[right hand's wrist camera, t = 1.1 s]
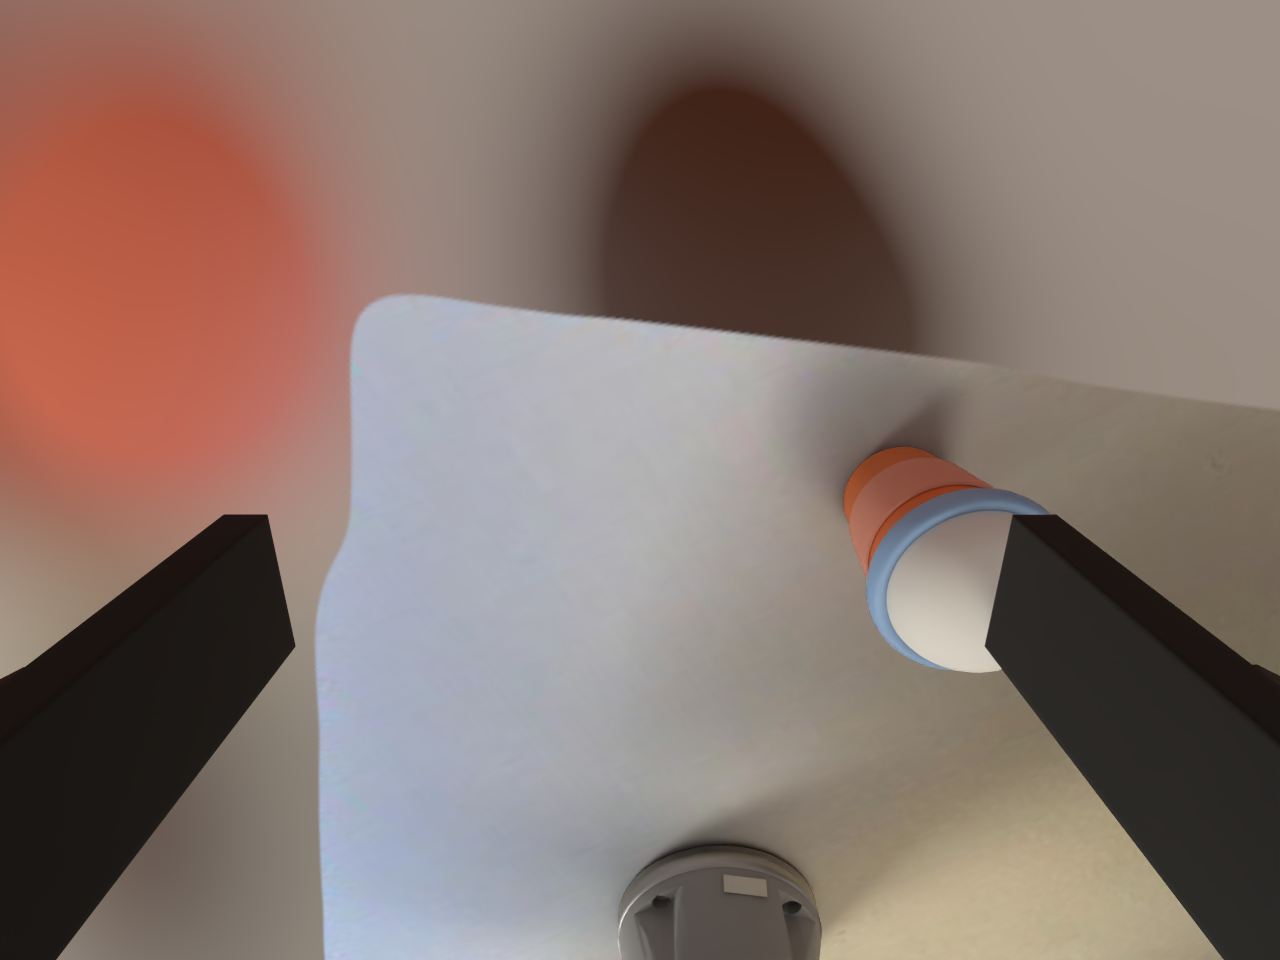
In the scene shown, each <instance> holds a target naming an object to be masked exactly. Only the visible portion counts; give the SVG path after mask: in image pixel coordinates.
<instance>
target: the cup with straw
mask: <svg viewBox="0 0 1280 960" xmlns="http://www.w3.org/2000/svg"><path fill="white" fill-rule="evenodd" d="M844 510H845V514H846V517H847V520H848V523H849V525H850V534H851V539H852V542H853V545H854V548H855V550H856V553H857V555H858V558H859V561H860V563H861V566H862V569H863V571H864V574H865V576H866V579H867V582H866V595H867V603H868V607H869V611H870V614H871V617H872V619H873V621H874V623H875V625H876V627H877V628H878V630H879V632H880V633H881V634H882V636H883V637H884V638H885V639H886V641H887V642H888V643H889V644H890V645H891V646H892V647H894V648H895V649H896V650H897V651H898V652H900V653H901V654H903V655H904V656H906V657H908V658H909V659H911V660H913V661H915V662H918V663H920V664H923V665H926V666H929V667H933V668H938V669H943V670H957V671H963V672H972V673H982V672H992V671H998V670H1002V669H1001V667H1000V666H999V665H998V663H997V662H996V661H995V659H994V658H993V657H992V656H991V654H990V653H989V652H988V650H987V649H986V648H985V642H986V637H987V632H988V628H989V623H990V618H991V613H992V609H993V604H994V599H995V595H996V590H997V585H998V581H999V576H1000V571H1001V567H1002V562H1003V557H1004V553H1005V548H1006V543H1007V539H1008V534H1009V529H1010V524H1011V520H1012V515H1051V514H1050V513H1049V512H1048V511H1047V510H1046V509H1044V508H1043V507H1042V506H1040V505H1039V504H1037V503H1036V502H1034V501H1032V500H1030V499H1028V498H1026V497H1024V496H1022V495H1019V494H1016V493H1013V492H1010V491H1005V490H1001V489H995V488H993V487H992V486H990V485H988V484H987V483H985V482H983V481H982V480H980V479H978V478H977V477H975V476H973V475H972V474H970V473H969V472H967V471H965V470H964V469H962V468H960V467H958V466H957V465H955V464H953V463H951V462H948V461H945V460H941V459H939V458H937V457H936V456H934V455H932V454H930V453H929V452H926V451H924V450H921V449H918V448H914V447H894V448H889V449H885V450H883V451H880V452H878V453H876V454H874V455H872V456H870V457H869V458H867V459H866V460H865V461H864V462H862V463H861V464H860V465H859V466H858V467H857V469H856V470H855V471H854V472H853V474H852V475H851V477H850V479H849V481H848V483H847V486H846V489H845V493H844Z"/></svg>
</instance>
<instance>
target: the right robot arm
mask: <svg viewBox="0 0 1280 960" xmlns="http://www.w3.org/2000/svg"><path fill="white" fill-rule="evenodd" d="M294 648H295V642H294V637H293V632H292V628H291V623H290V618H289V613H288V609H287V604H286V600H285V595H284V590H283V585H282V581H281V576H280V571H279V567H278V562H277V557H276V553H275V548H274V544H273V539H272V534H271V529H270V525H269V520H268V515H223V516H221V517H220V518H219V519H218V520H216V521H215V522H214V523H212V524H211V525H210V526H208V527H207V528H206V529H204V530H203V531H202V532H201V533H199V534H198V535H197V536H195V537H194V538H193V539H191V540H190V541H189V542H188V543H186V544H185V545H184V546H182V547H181V548H180V549H178V550H177V551H176V552H174V553H173V554H172V555H171V556H169V557H168V558H167V559H165V560H164V561H163V562H161V563H160V564H159V565H158V566H156V567H155V568H154V569H152V570H151V571H150V572H148V573H147V574H146V575H144V576H143V577H142V578H141V579H139V580H138V581H137V582H135V583H134V584H133V585H131V586H130V587H129V588H128V589H126V590H125V591H124V592H122V593H121V594H120V595H118V596H117V597H116V598H115V599H113V600H112V601H111V602H109V603H108V604H107V605H105V606H104V607H103V608H101V609H100V610H99V611H98V612H96V613H95V614H94V615H92V616H91V617H90V618H88V619H87V620H86V621H85V622H83V623H82V624H81V625H79V626H78V627H77V628H75V629H74V630H73V631H71V632H70V633H69V634H68V635H66V636H65V637H64V638H62V639H61V640H60V641H58V642H57V643H56V644H54V645H53V646H52V647H51V648H49V649H48V650H47V651H45V652H44V653H43V654H41V655H40V656H39V657H38V658H36V659H35V660H34V661H32V662H31V663H30V664H28V665H27V666H26V667H23V668H21V669H19V670H17V671H15V672H13V673H11V674H9V675H8V676H6V677H4V678H2V679H0V960H56V959H57V958H58V956H59V955H60V954H61V953H62V951H63V950H64V949H65V947H66V946H67V945H68V943H69V942H70V941H71V940H72V938H73V937H74V936H75V934H76V933H77V932H78V930H79V929H80V928H81V926H82V925H83V924H84V923H85V921H86V920H87V919H88V917H89V916H90V915H91V913H92V912H93V911H94V909H95V908H96V907H97V905H98V904H99V903H100V902H101V900H102V899H103V898H104V896H105V895H106V894H107V892H108V891H109V890H110V888H111V887H112V886H113V884H114V883H115V882H116V881H117V879H118V878H119V877H120V875H121V874H122V873H123V871H124V870H125V869H126V868H127V866H128V865H129V864H130V862H131V861H132V860H133V858H134V857H135V856H136V854H137V853H138V852H139V850H140V849H141V848H142V847H143V845H144V844H145V843H146V841H147V840H148V839H149V837H150V836H151V835H152V834H153V832H154V831H155V830H156V828H157V827H158V826H159V824H160V823H161V822H162V820H163V819H164V818H165V817H166V815H167V814H168V813H169V811H170V810H171V809H172V807H173V806H174V805H175V803H176V802H177V801H178V799H179V798H180V797H181V796H182V794H183V793H184V792H185V790H186V789H187V788H188V786H189V785H190V784H191V782H192V781H193V780H194V779H195V777H196V776H197V775H198V773H199V772H200V771H201V769H202V768H203V767H204V765H205V764H206V763H207V762H208V760H209V759H210V758H211V756H212V755H213V754H214V752H215V751H216V750H217V748H218V747H219V746H220V744H221V743H222V742H223V741H224V739H225V738H226V737H227V735H228V734H229V733H230V731H231V730H232V729H233V728H234V726H235V725H236V724H237V722H238V721H239V720H240V718H241V717H242V716H243V714H244V713H245V712H246V710H247V709H248V708H249V706H250V705H251V704H252V703H253V701H254V700H255V699H256V697H257V696H258V695H259V693H260V692H261V691H262V690H263V688H264V687H265V686H266V684H267V683H268V682H269V680H270V679H271V678H272V676H273V675H274V674H275V673H276V671H277V670H278V669H279V667H280V666H281V665H282V663H283V662H284V661H285V659H286V658H287V657H288V656H289V654H290V653H291V652H292V650H293V649H294ZM985 648H986V649H987V650H988V652H989V653H990V654H991V656H992V657H993V658H994V659H995V661H996V662H997V663H998V665H999V666H1000V667H1001V669H1002V670H1003V671H1004V673H1005V674H1006V675H1007V676H1008V678H1009V679H1010V680H1011V682H1012V683H1013V684H1014V686H1015V687H1016V688H1017V690H1018V691H1019V692H1020V693H1021V695H1022V696H1023V697H1024V699H1025V700H1026V701H1027V703H1028V704H1029V705H1030V707H1031V708H1032V709H1033V711H1034V712H1035V713H1036V714H1037V716H1038V717H1039V718H1040V720H1041V721H1042V722H1043V724H1044V725H1045V726H1046V728H1047V729H1048V730H1049V731H1050V733H1051V734H1052V735H1053V737H1054V738H1055V739H1056V741H1057V742H1058V743H1059V745H1060V746H1061V747H1062V748H1063V750H1064V751H1065V752H1066V754H1067V755H1068V756H1069V758H1070V759H1071V760H1072V762H1073V763H1074V764H1075V765H1076V767H1077V768H1078V769H1079V771H1080V772H1081V773H1082V775H1083V776H1084V777H1085V779H1086V780H1087V781H1088V782H1089V784H1090V785H1091V786H1092V788H1093V789H1094V790H1095V792H1096V793H1097V794H1098V796H1099V797H1100V798H1101V799H1102V801H1103V802H1104V803H1105V805H1106V806H1107V807H1108V809H1109V810H1110V811H1111V813H1112V814H1113V815H1114V817H1115V818H1116V819H1117V820H1118V822H1119V823H1120V824H1121V826H1122V827H1123V828H1124V830H1125V831H1126V832H1127V834H1128V835H1129V836H1130V837H1131V839H1132V840H1133V841H1134V843H1135V844H1136V845H1137V847H1138V848H1139V849H1140V851H1141V852H1142V853H1143V854H1144V856H1145V857H1146V858H1147V860H1148V861H1149V862H1150V864H1151V865H1152V866H1153V868H1154V869H1155V870H1156V871H1157V873H1158V874H1159V875H1160V877H1161V878H1162V879H1163V881H1164V882H1165V883H1166V885H1167V886H1168V887H1169V888H1170V890H1171V891H1172V892H1173V894H1174V895H1175V896H1176V898H1177V899H1178V900H1179V902H1180V903H1181V904H1182V906H1183V907H1184V908H1185V909H1186V911H1187V912H1188V913H1189V915H1190V916H1191V917H1192V919H1193V920H1194V921H1195V923H1196V924H1197V925H1198V926H1199V928H1200V929H1201V930H1202V932H1203V933H1204V934H1205V936H1206V937H1207V938H1208V940H1209V941H1210V942H1211V943H1212V945H1213V946H1214V947H1215V949H1216V950H1217V951H1218V953H1219V954H1220V955H1221V957H1222V958H1223V959H1224V960H1280V676H1279V675H1277V674H1275V673H1273V672H1271V671H1269V670H1267V669H1265V668H1263V667H1261V666H1259V665H1252V664H1250V663H1249V662H1248V661H1246V660H1245V659H1244V658H1242V657H1241V656H1240V655H1239V654H1237V653H1236V652H1235V651H1233V650H1232V649H1231V648H1229V647H1228V646H1227V645H1226V644H1224V643H1223V642H1222V641H1220V640H1219V639H1218V638H1216V637H1215V636H1214V635H1212V634H1211V633H1210V632H1209V631H1207V630H1206V629H1205V628H1203V627H1202V626H1201V625H1199V624H1198V623H1197V622H1196V621H1194V620H1193V619H1192V618H1190V617H1189V616H1188V615H1186V614H1185V613H1184V612H1182V611H1181V610H1180V609H1179V608H1177V607H1176V606H1175V605H1173V604H1172V603H1171V602H1169V601H1168V600H1167V599H1166V598H1164V597H1163V596H1162V595H1160V594H1159V593H1158V592H1156V591H1155V590H1154V589H1152V588H1151V587H1150V586H1149V585H1147V584H1146V583H1145V582H1143V581H1142V580H1141V579H1139V578H1138V577H1137V576H1136V575H1134V574H1133V573H1132V572H1130V571H1129V570H1128V569H1126V568H1125V567H1124V566H1123V565H1121V564H1120V563H1119V562H1117V561H1116V560H1115V559H1113V558H1112V557H1111V556H1109V555H1108V554H1107V553H1106V552H1104V551H1103V550H1102V549H1100V548H1099V547H1098V546H1096V545H1095V544H1094V543H1093V542H1091V541H1090V540H1089V539H1087V538H1086V537H1085V536H1083V535H1082V534H1081V533H1079V532H1078V531H1077V530H1076V529H1074V528H1073V527H1072V526H1070V525H1069V524H1068V523H1066V522H1065V521H1064V520H1063V519H1061V518H1060V517H1059V516H1057V515H1012V520H1011V524H1010V529H1009V534H1008V539H1007V543H1006V548H1005V553H1004V557H1003V562H1002V567H1001V571H1000V576H999V581H998V585H997V590H996V595H995V599H994V604H993V609H992V613H991V618H990V623H989V628H988V632H987V637H986V642H985ZM820 945H821V923H820V919H819V915H818V911H817V907H816V903H815V899H814V896H813V893H812V891H811V888H810V887H809V885H808V884H807V882H806V881H805V879H804V878H803V877H802V876H801V875H800V874H799V873H798V872H797V871H796V870H795V869H794V868H792V867H791V866H790V865H788V864H787V863H785V862H784V861H782V860H780V859H778V858H776V857H774V856H772V855H770V854H767V853H764V852H761V851H758V850H754V849H750V848H745V847H738V846H723V845H716V846H704V847H697V848H692V849H687V850H684V851H680V852H677V853H674V854H672V855H669V856H667V857H665V858H663V859H660V860H659V861H657V862H655V863H653V864H652V865H650V866H649V867H647V868H646V869H645V870H643V871H642V872H641V873H640V874H639V875H638V876H637V877H636V878H635V879H634V880H633V881H632V882H631V884H630V885H629V886H628V888H627V890H626V891H625V893H624V895H623V897H622V900H621V903H620V907H619V915H618V946H619V951H620V954H621V957H622V960H819V957H820Z"/></svg>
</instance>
